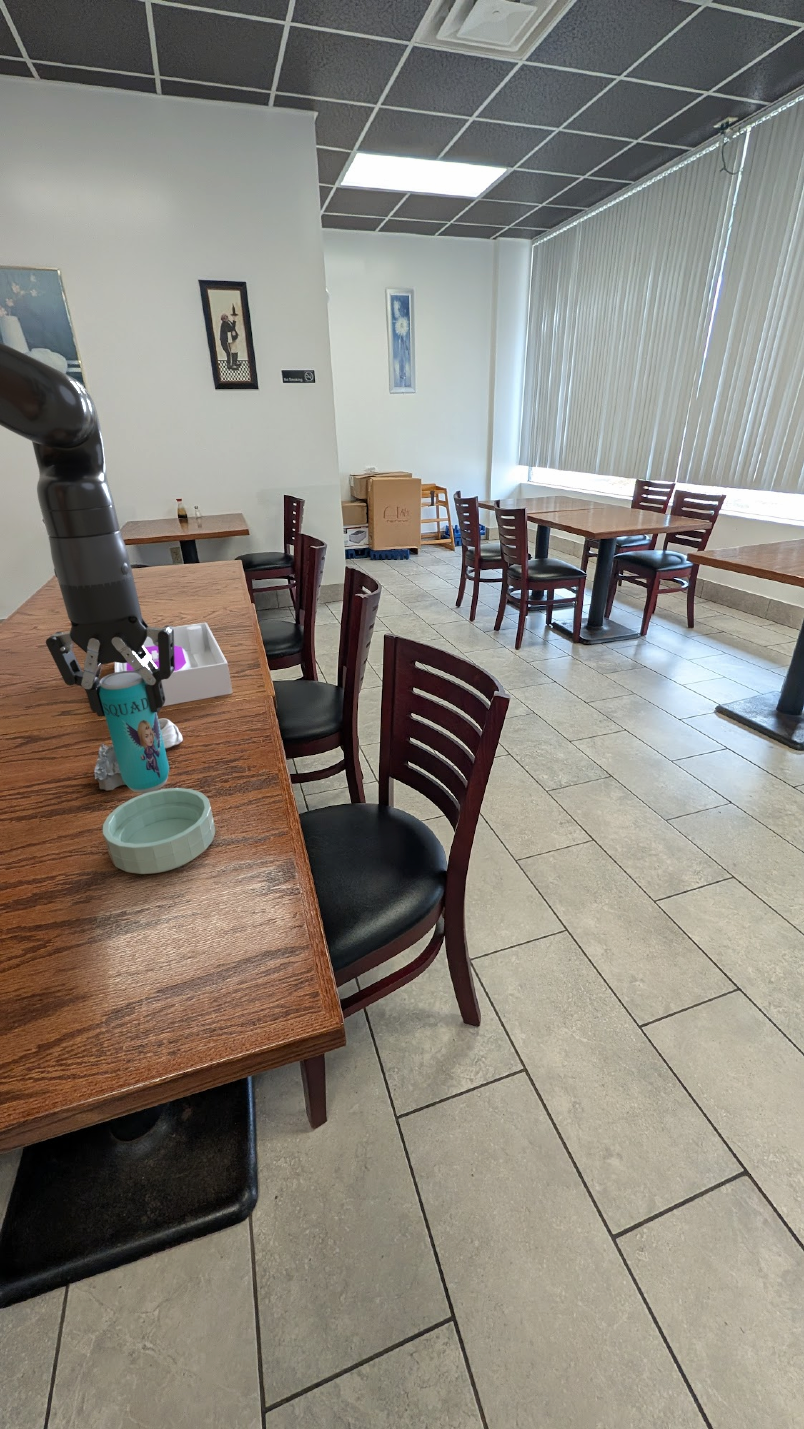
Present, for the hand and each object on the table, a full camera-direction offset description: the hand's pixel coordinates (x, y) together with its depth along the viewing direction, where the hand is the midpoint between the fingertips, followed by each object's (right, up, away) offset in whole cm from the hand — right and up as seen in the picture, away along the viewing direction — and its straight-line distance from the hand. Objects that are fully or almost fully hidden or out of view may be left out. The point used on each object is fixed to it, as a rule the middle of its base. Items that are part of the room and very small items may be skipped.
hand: (130, 711), depth 72 cm
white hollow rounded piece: (-10, -6, +36) cm, 38 cm away
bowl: (+1, -18, +9) cm, 21 cm away
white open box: (-21, +9, +67) cm, 71 cm away
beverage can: (0, -10, +5) cm, 11 cm away
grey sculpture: (-13, -11, +27) cm, 32 cm away
